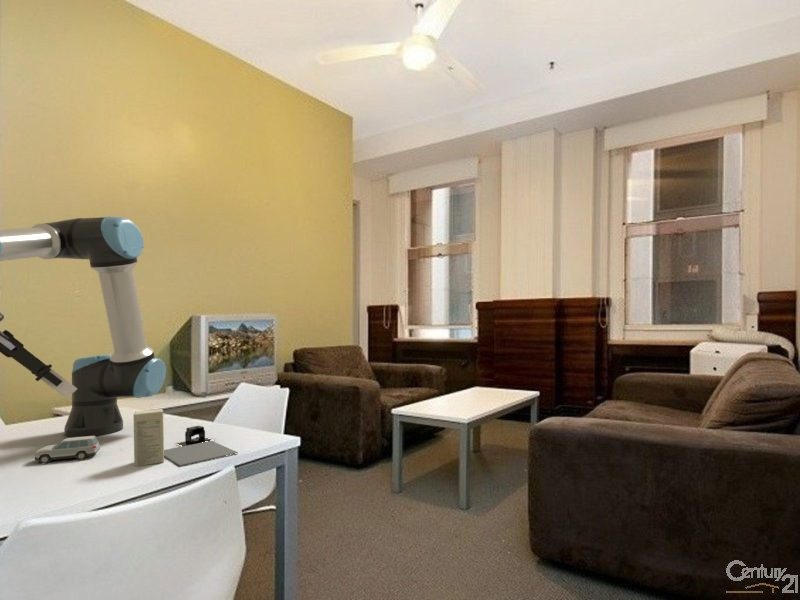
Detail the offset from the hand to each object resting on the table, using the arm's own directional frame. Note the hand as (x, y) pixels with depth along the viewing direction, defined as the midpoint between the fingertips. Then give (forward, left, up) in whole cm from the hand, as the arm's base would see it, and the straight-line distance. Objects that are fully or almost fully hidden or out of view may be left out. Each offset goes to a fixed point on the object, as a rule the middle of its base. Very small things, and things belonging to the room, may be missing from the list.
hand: (71, 393), depth 101 cm
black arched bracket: (-11, +31, -19) cm, 38 cm away
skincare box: (0, +16, -19) cm, 24 cm away
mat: (+1, +27, -18) cm, 32 cm away
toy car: (-19, +3, -19) cm, 27 cm away
